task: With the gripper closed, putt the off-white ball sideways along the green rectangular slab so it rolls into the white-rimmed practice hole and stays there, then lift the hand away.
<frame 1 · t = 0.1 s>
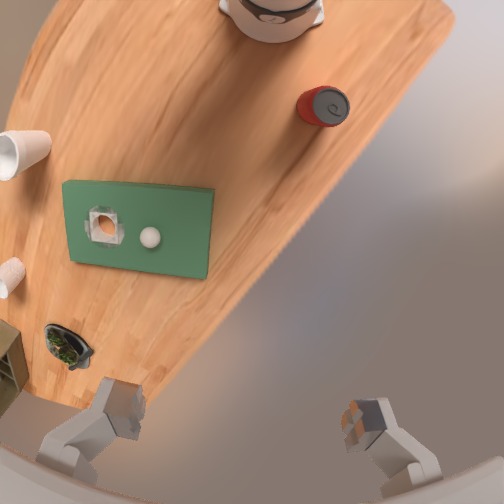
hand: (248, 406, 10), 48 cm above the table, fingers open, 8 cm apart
avocado toast plate: (69, 344, 75), on the table
green rectangular slab: (134, 225, 58), on the table
white cup: (18, 267, 63), on the table
foam cup: (41, 144, 49), on the table
beer can: (314, 107, 48), on the table
caddy: (15, 349, 79), on the table
ball: (150, 237, 54), point 5 cm above the table, touching green rectangular slab
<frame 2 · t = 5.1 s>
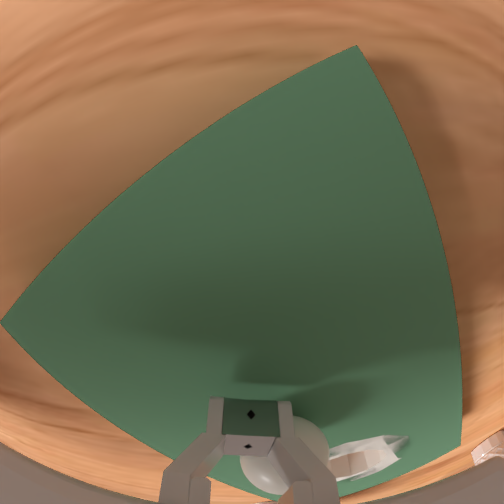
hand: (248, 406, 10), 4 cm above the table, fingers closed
green rectangular slab: (312, 405, 17), on the table
white cup: (486, 441, 28), on the table
ball: (284, 455, 11), point 5 cm above the table, tilted 27°, touching green rectangular slab
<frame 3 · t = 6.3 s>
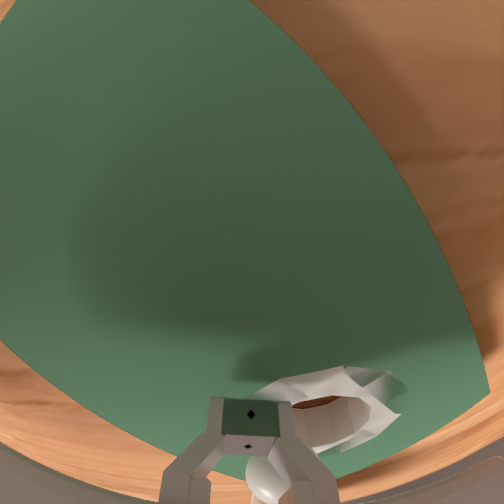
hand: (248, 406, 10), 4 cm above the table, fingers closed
green rectangular slab: (237, 329, 14), on the table
foam cup: (277, 493, 27), on the table
ball: (284, 473, 12), point 5 cm above the table, tilted 35°, touching green rectangular slab
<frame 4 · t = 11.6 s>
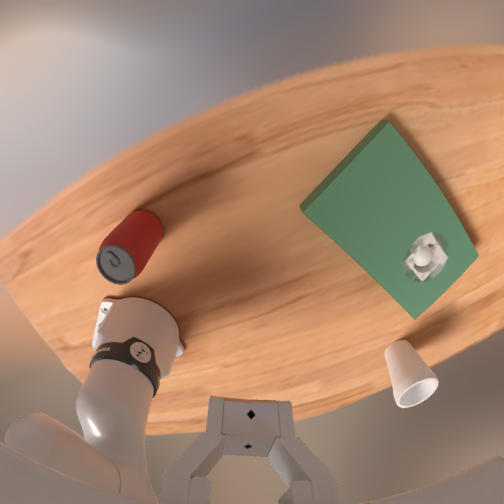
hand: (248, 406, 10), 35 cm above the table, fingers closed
green rectangular slab: (402, 229, 45), on the table
foam cup: (396, 349, 58), on the table
beer can: (144, 228, 45), on the table
ball: (421, 254, 45), point 2 cm above the table, tilted 38°
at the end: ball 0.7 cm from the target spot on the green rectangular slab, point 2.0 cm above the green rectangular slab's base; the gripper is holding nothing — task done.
